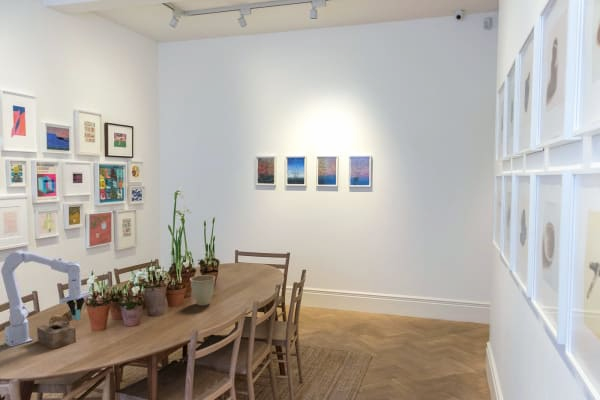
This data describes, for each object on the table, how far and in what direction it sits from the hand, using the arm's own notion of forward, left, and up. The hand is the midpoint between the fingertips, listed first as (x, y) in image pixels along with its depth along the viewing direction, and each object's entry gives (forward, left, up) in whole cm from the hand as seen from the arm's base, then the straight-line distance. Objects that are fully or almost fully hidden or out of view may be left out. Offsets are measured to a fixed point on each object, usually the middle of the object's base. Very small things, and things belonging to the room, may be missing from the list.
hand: (76, 314), depth 220 cm
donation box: (-10, -2, -10) cm, 15 cm away
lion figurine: (0, +18, -10) cm, 20 cm away
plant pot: (+71, -10, -10) cm, 72 cm away
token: (0, 0, -2) cm, 2 cm away
